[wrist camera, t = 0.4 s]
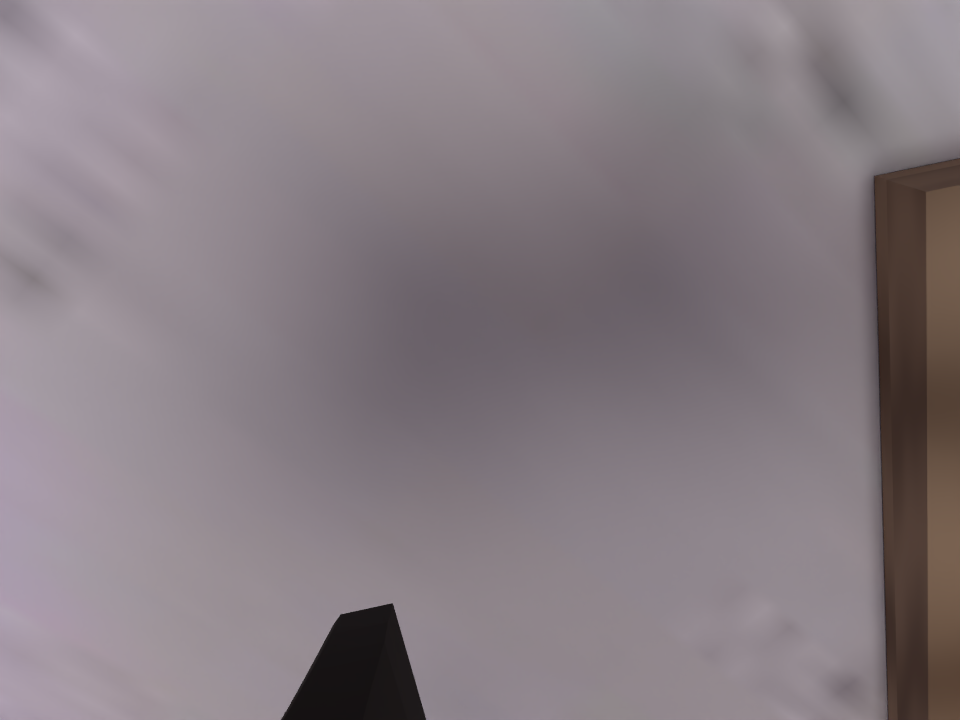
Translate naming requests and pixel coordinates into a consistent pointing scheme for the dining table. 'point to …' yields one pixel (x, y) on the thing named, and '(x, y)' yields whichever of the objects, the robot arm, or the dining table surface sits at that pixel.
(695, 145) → the dining table surface
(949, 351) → the board
